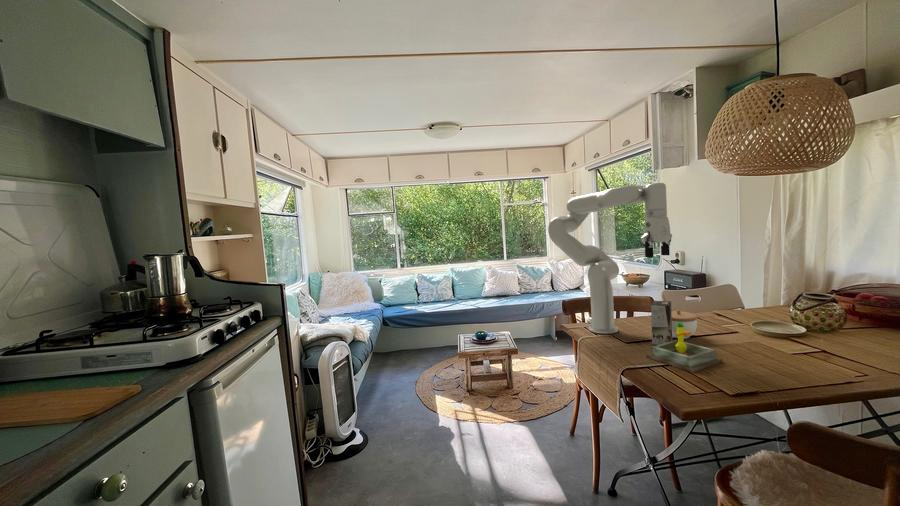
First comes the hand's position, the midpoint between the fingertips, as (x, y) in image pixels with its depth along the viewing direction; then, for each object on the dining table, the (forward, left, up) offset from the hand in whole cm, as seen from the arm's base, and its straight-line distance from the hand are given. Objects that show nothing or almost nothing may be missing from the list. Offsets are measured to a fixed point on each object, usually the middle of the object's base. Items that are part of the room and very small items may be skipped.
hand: (657, 256), depth 141 cm
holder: (+18, -14, -34) cm, 41 cm away
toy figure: (+18, -13, -34) cm, 40 cm away
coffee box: (+3, -3, -34) cm, 35 cm away
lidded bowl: (+2, +9, -34) cm, 36 cm away
